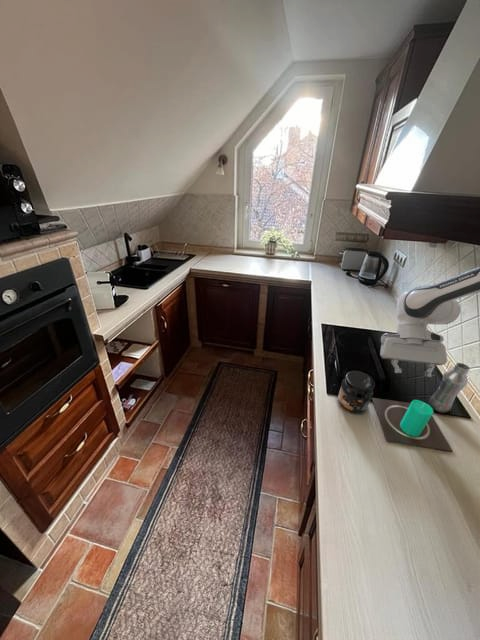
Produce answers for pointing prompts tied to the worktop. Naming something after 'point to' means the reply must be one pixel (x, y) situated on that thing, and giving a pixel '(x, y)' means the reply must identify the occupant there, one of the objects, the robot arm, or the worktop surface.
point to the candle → (416, 418)
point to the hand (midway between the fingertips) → (412, 375)
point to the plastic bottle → (449, 388)
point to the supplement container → (356, 392)
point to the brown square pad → (390, 423)
